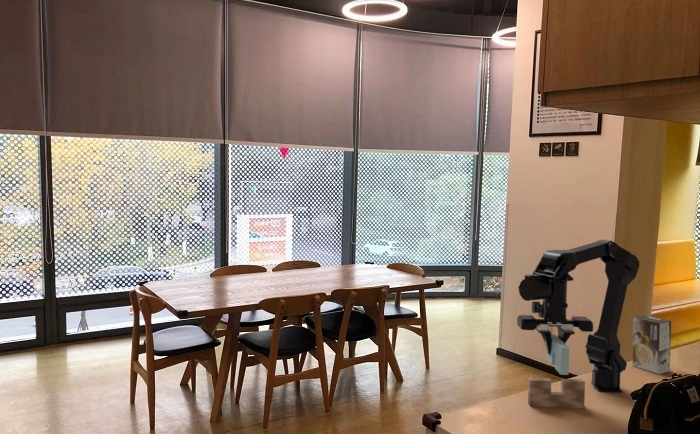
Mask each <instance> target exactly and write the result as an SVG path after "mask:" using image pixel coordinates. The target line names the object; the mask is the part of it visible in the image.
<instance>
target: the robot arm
mask: <svg viewBox="0 0 700 434" xmlns="http://www.w3.org/2000/svg"><path fill="white" fill-rule="evenodd" d="M597 259H600V261H602V262H603V263H604V264H605V266H604V272H605V275H606V277H607V281H608V282H607V287H606V290H605V296H604V300H603V305H602V309H601V315H600V319H599V323H598V327H597V330H596V331H595V332H594V322H593V321H592V320H591V319H590V318H588V317H586V316H582V315H581V316H577V315H572V316H571V319H567V309H568V306H569V304H568V303H567V295H568V282H572V281H574V277H572V275H570V274H569V273H570V272H572V271H574V270H575V269H576V268H577V266H578V265H580V264H584V263H587V262H590V261H594V260H597ZM639 268H640V260H639V258H638V257H637V256H636V255H635V254H632V252H630V251H628V250H626V249H625V248H623V247H621V246H620V245H618V244H617V243H616V242H614V241H613V240H608V239H607V240H606V239H598V240H596V241H594V242H591V243H586V244H584V245H581V246H577V247H574V248H570V249H552V250H551V249H550V250H546V251H544V252H543V255H542V256H541V258H540V260H539V262H538V263H537V264H536V266H535V268H534V270H533V271H532V274H529V273H528V274H524V279H522V280H521V281H520V283H519V286H518V292H519V296H520V298H521V299H523V300H524V301H526V302H527V301H528V302H531V301H532V302H531V313H532V315H530V314H519V315H518V316H517V317H516V325H517V327H519V328H520V330H522V331H535V330H536V331H537V332H538V334H541V337H542V339H543V342H544V346H545V349H546V354H547V353H548V354H549V355H550V353H551V334H552V332H551V331H550V330H549V328H550V327H554V328H555V327H556V328H557V337H558V338H559V339H560V340H561V341H563V342H564V343H565V344H566V342H567V341H568V340H569V338H570V337H571V336H572V335H575V331H574V328H577V329H579V331H581V332H582V333H583V332H584V333H586V332H587V333H589V334H588V336H587V341H586V345H585V346H584V347H585V348H586V350H585V352H586V355H587V358H588V361H589V364H591V365H593V369H592V370H591V381H590V382H591V384H592V385H593V387H594V388H595V389H596V390H597V391H598V392H612V393H613V392H616V393H617V392H619V393H622V392H623V389H622V388H621V373H623V371H626V369H627V364H628V363H627V361H626V360H625V359H624V358H623V357H622V355H621V354H620V353H621V343H620V340H619V338H618V330H619V325H620V320H621V316H622V311H623V308H624V304H625V299H626V293H627V291H628V290H627V289H628V285H630V284H631V283H632V281H634V280H635V279H636V277H637V275H638V271H639ZM538 300H539V301H538ZM540 300H542V304H541V302H540ZM533 314H538V318H535V317H534V315H533ZM592 332H594V333H593V334H591V333H592Z"/></svg>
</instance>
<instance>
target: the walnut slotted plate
mask: <svg viewBox="0 0 700 434" xmlns="http://www.w3.org/2000/svg"><path fill="white" fill-rule="evenodd" d="M527 379H528V382H527V385H528V388H527V404H528V406H529V407H548V408H569V409H570V408H571V409H572V408H573V409H574V408H575V409H585V398H586V395H585V394H586V393H585V392H586V382H585V380H583V379H582V378H581V379H578V378H561V380H560V381H561V383H560V384H561V385H560V386H561V388H560V391H561V392H560V391H552V380H551V379H550V378H547V377H528V378H527Z"/></svg>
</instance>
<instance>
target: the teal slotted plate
mask: <svg viewBox="0 0 700 434" xmlns="http://www.w3.org/2000/svg"><path fill="white" fill-rule="evenodd" d="M546 360H547V362H549V364H550V365H555V366H554V369H555V371H557V372H558V374H559V375H560V376H561V375H562V376H564V375H565V376H568V375H569V374H570V373H569V371H570V370H569V369H570V347H569V346H568V345H567V344H566V343H564V342H563V341H561V340H560V339H559V338H558V335H556V334H552V333H551V353H550V355H549V354H548V353H547V352H546Z"/></svg>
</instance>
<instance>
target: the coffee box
mask: <svg viewBox="0 0 700 434" xmlns="http://www.w3.org/2000/svg"><path fill="white" fill-rule="evenodd" d="M632 327H633V329H632V330H633V331H632V332H633V334H632V367H635V368H638V369H642V370H645V371H647V372H650V373H653V374H657V375H662V374H664V373H667V372H670V371H671V341H672V340H671V338H672V320H668V319H664V318H660V317H659V318H658V317H656V316H652V315H648V314H647V315H646V314H643V315H637V316H634V317H633V326H632Z"/></svg>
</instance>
